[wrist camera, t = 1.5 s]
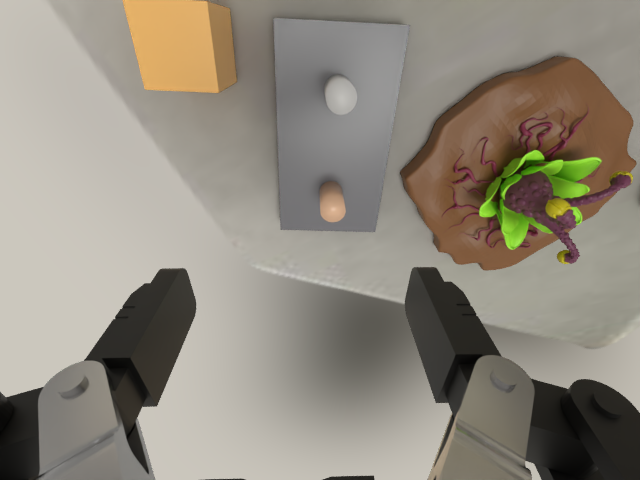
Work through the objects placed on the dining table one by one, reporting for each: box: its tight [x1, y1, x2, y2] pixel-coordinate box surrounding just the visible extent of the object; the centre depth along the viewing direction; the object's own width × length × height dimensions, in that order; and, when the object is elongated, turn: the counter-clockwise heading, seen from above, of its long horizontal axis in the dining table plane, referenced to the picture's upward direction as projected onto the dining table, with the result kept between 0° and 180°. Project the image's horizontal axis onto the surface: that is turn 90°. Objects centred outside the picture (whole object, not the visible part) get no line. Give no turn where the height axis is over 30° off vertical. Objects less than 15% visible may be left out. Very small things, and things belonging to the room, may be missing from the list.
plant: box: [400, 56, 636, 270], centre depth 27 cm, size 20×20×11 cm
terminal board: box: [273, 18, 410, 232], centre depth 26 cm, size 18×10×6 cm, turn 178°
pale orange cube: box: [123, 0, 237, 93], centre depth 22 cm, size 5×5×6 cm
